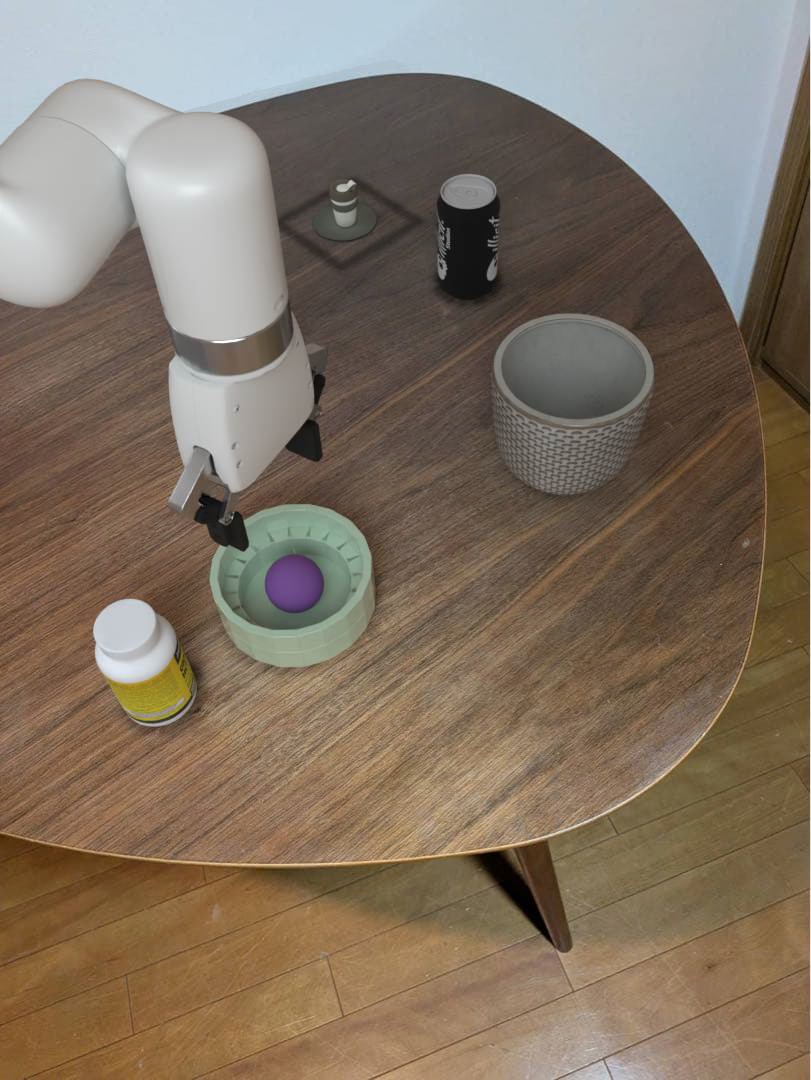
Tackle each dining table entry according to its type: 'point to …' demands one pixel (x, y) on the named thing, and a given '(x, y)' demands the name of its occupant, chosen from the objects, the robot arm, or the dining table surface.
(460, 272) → the beverage can
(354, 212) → the coffee cup
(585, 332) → the planter
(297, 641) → the bowl
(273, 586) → the ball
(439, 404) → the dining table surface
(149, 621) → the pill bottle
